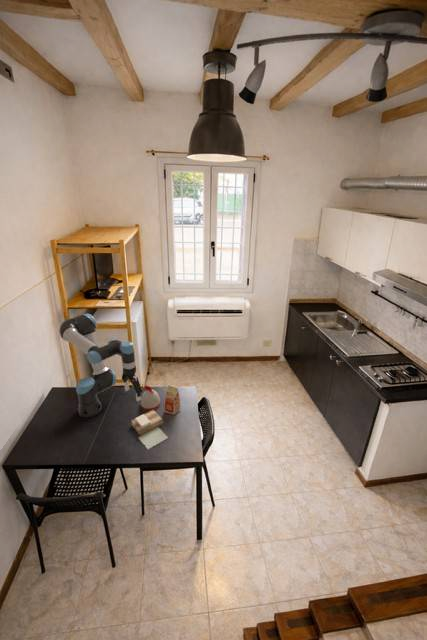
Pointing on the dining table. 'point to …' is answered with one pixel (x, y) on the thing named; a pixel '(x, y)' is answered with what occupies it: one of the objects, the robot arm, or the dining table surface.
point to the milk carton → (172, 400)
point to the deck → (155, 422)
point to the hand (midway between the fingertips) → (132, 395)
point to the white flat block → (143, 421)
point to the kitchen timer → (150, 399)
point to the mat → (153, 438)
